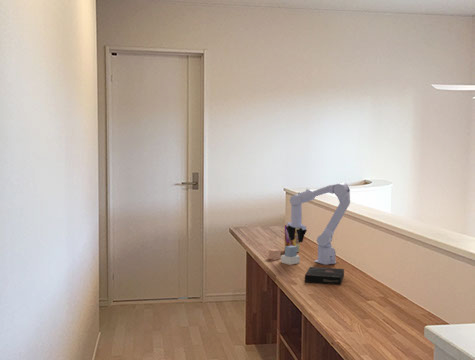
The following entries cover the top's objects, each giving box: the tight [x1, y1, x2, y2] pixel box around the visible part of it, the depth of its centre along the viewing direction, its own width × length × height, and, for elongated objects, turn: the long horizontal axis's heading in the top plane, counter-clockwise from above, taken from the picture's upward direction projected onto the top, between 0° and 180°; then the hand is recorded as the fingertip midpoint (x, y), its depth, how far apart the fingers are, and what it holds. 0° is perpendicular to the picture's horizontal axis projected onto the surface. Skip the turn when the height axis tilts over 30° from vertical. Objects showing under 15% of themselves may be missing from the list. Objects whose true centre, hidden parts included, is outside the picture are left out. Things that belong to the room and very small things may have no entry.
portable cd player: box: [304, 266, 345, 286], centre depth 268 cm, size 16×17×4 cm
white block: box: [280, 254, 301, 266], centre depth 302 cm, size 7×7×4 cm
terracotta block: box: [268, 248, 281, 261], centre depth 311 cm, size 4×4×5 cm
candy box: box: [284, 224, 301, 253], centre depth 330 cm, size 9×4×15 cm, turn 39°
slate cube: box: [284, 245, 298, 257], centre depth 301 cm, size 4×4×5 cm
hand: (296, 241), depth 307 cm, fingers open, 7 cm apart
